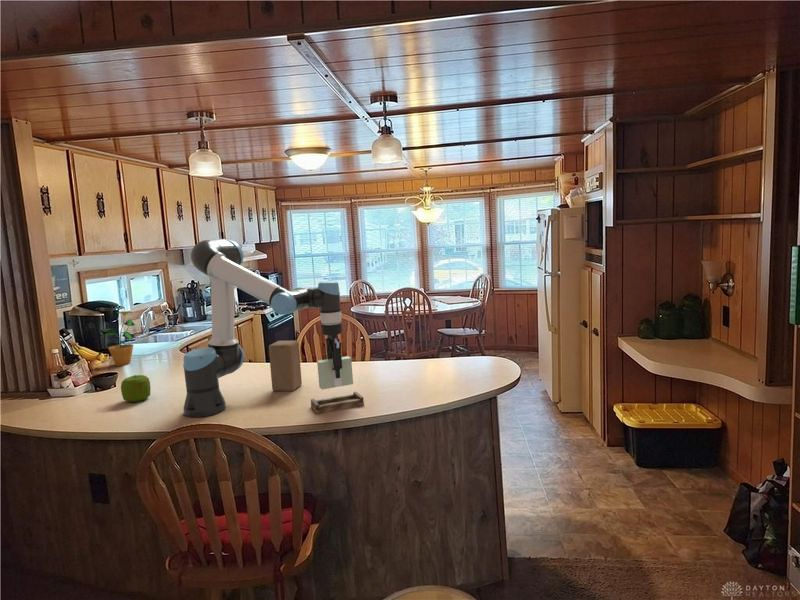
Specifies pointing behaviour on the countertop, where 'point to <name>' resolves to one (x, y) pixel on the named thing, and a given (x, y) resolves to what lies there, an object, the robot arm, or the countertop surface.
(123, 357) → the potted plant
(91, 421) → the countertop surface
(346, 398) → the track
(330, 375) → the rectangular block
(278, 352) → the wooden block
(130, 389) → the apple
